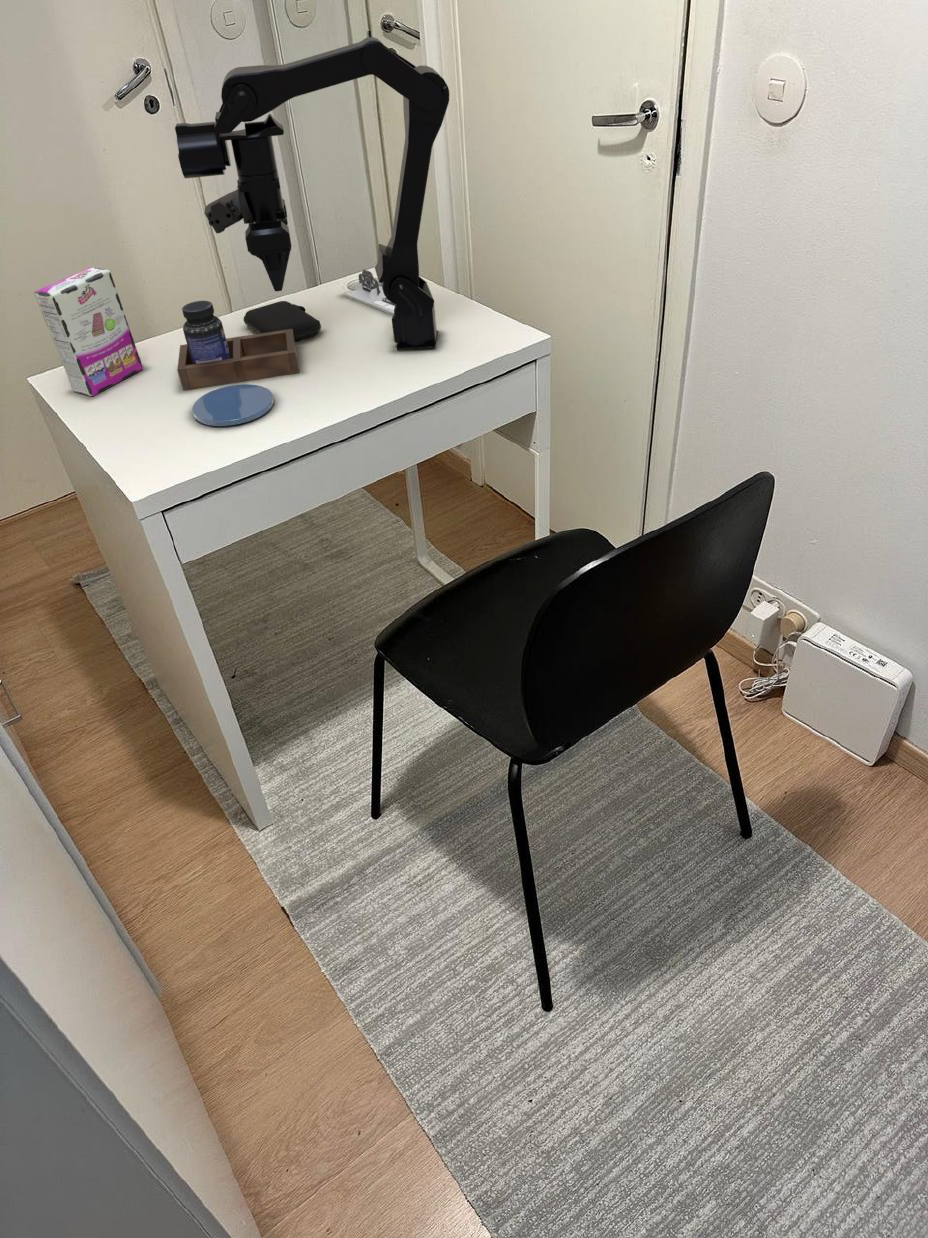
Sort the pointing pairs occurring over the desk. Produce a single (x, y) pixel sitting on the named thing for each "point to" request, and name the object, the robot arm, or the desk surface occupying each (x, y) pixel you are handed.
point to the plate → (233, 405)
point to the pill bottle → (204, 333)
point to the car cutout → (371, 293)
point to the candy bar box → (89, 330)
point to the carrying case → (283, 320)
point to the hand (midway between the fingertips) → (277, 280)
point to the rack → (242, 361)
